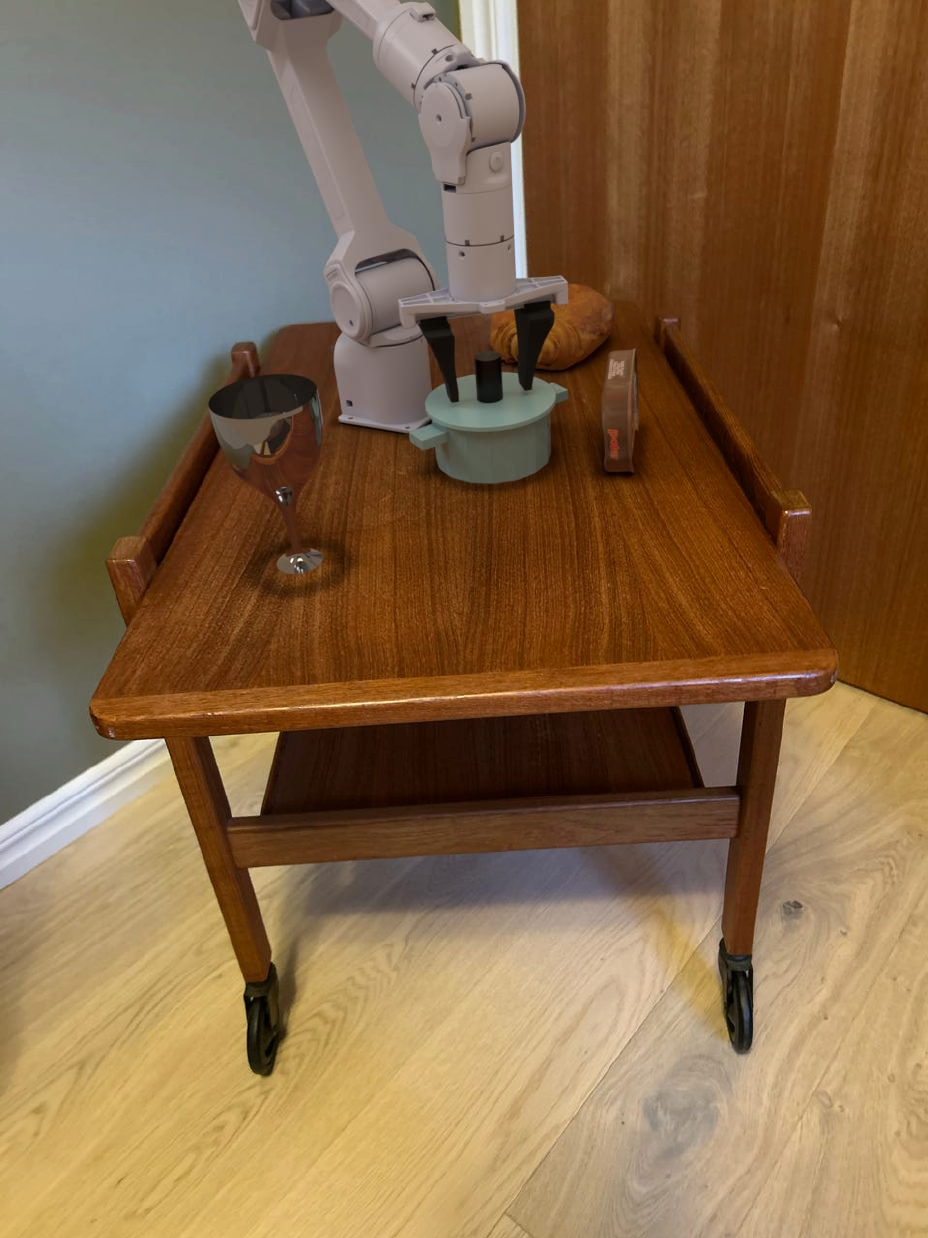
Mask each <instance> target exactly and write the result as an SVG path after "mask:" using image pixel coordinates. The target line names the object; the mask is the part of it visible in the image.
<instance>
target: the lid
mask: <svg viewBox="0 0 928 1238" xmlns="http://www.w3.org/2000/svg"><path fill="white" fill-rule="evenodd" d="M473 360H474V362H473V363H474V374H468V375H464V376H460V377H456V378H457V384H458V391H459V402H454V403H451V401H450V399H449V397H448V395H447V391H446V386H445V382H444V383H442V384H441V385H439V386H437V387H435V388H434V389H432V392H431V393H430V394H429V395H428V397H427V399H426V401H425V408H426V413H427V414H428V416H429V417H430V418H431V421H432V420H433V421H434V422H436V423H438V424H440V425H442V426H445V427H448V428H451V429H455V430H460V431H468V432H495V431H503V430H509V429H514V428H518V427H522V426H525V425H528V424H531V423H533V422H536V421H537V420H539V419H541V418H543V417H544V416H546V415H547V414H548V413H549V412H550V413H551V412H552V410H553V409H554V408H555V406H556V404H555V402H556V394H555V391H554V389H553V388H552V386H551V385H549V384H550V383H548V382H546V381H545V380H543V379H541V378H538V377H536V376H534V378H533V384H532V390H528V391H524V389H523V388H522V386H521V385H520V383H519V378H518V372H507V371H503V368H502V359H501V354H500V353H498V352H495V351H494V350H485V351H480V352H478V353H476V354H474V357H473Z"/></svg>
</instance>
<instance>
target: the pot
mask: <svg viewBox="0 0 928 1238" xmlns="http://www.w3.org/2000/svg"><path fill="white" fill-rule="evenodd" d="M548 384H549V385H551V386H552V388H553V389H554V391H555V394H556V402H555V405H556V404H559V403H562V402H565V401H567V400H569V389H568V388H565V387H563V386H561V385H560V384H558V383H555V382H550V383H548ZM551 427H552V426H551V411H550V412H549V413H548V414H547V415H546V416H544V417H543V418H541V419H539V420H537V421H536V422H533V423H531V424H528V425H525V426H522V427H518V428H514V429H509V430H503V431H495V432H468V431H460V430H455V429H451V428H448V427H445V426H442V425H440V424H438V423H436V422H434V421H433V420H432V419H431V424H427V425H424V426H423V427H422V428H419V429H416V430H413V431H410V432H409V433H408V435H409V436H408V438H409V442H410V443H411V444H412V445H414V446H416V448H418V449H420V450H421V451H423V452H424V451H427V450H429V449H433V448H434V451H435V460H436V463H437V465H438V468H439V470H440V471H442V472H443V473H445V474H446V475H447V476H449V477H450V478H451V479H456V480H460V481H462V482H466V483H471V484H490V485H491V484H499V483H507V482H514V481H518V480H521V479H524V478H525V477H528V476H531V475H533V474H536V473H537V472H539V471H540V470H541V469H542V468H544V467H545V466H546V465H547V464H548V463H549V461H550V457H551V454H552V434H551V433H552V432H551V429H552V428H551Z"/></svg>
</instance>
